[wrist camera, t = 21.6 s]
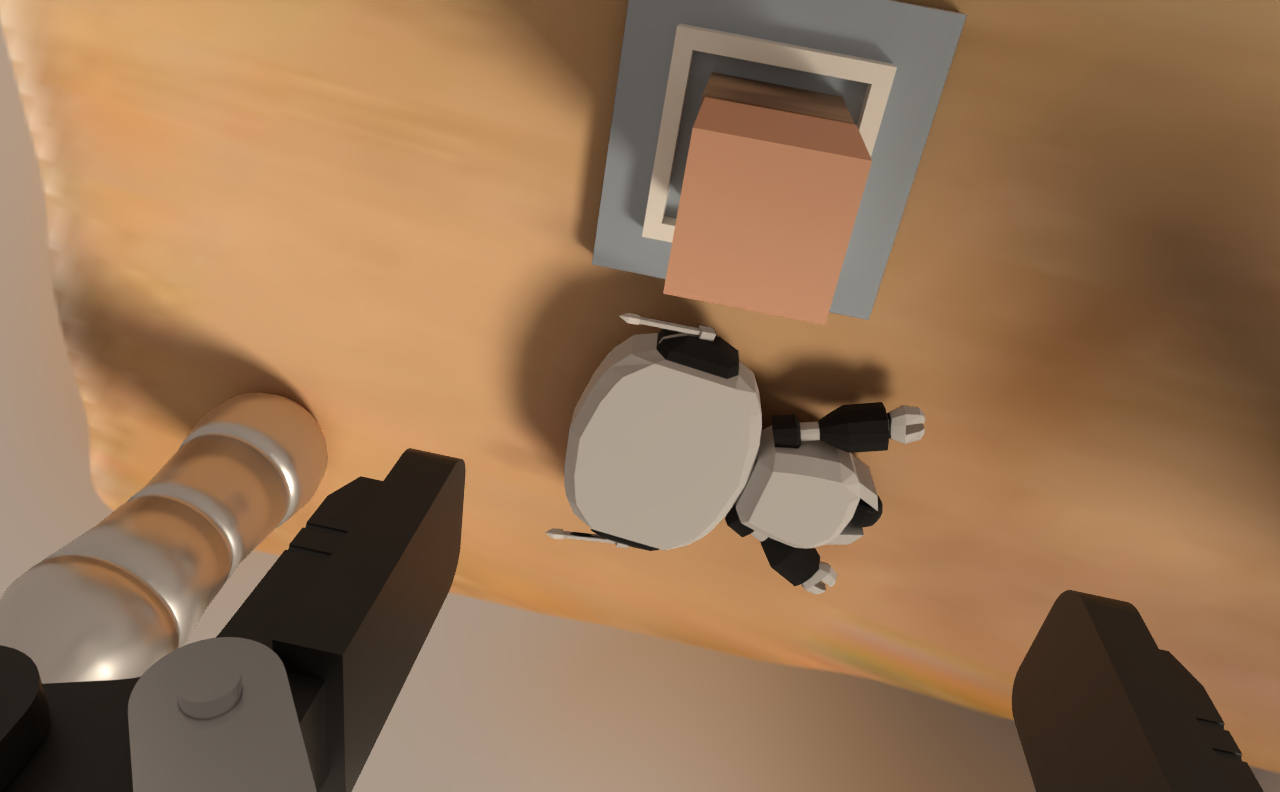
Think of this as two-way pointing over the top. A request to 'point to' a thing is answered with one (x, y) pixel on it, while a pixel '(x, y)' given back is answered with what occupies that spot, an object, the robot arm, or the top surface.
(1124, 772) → the robot arm
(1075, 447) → the top surface
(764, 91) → the walnut cube
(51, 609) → the plastic bottle
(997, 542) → the top surface
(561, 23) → the top surface
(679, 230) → the terracotta cube
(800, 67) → the baseplate
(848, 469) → the robot toy
